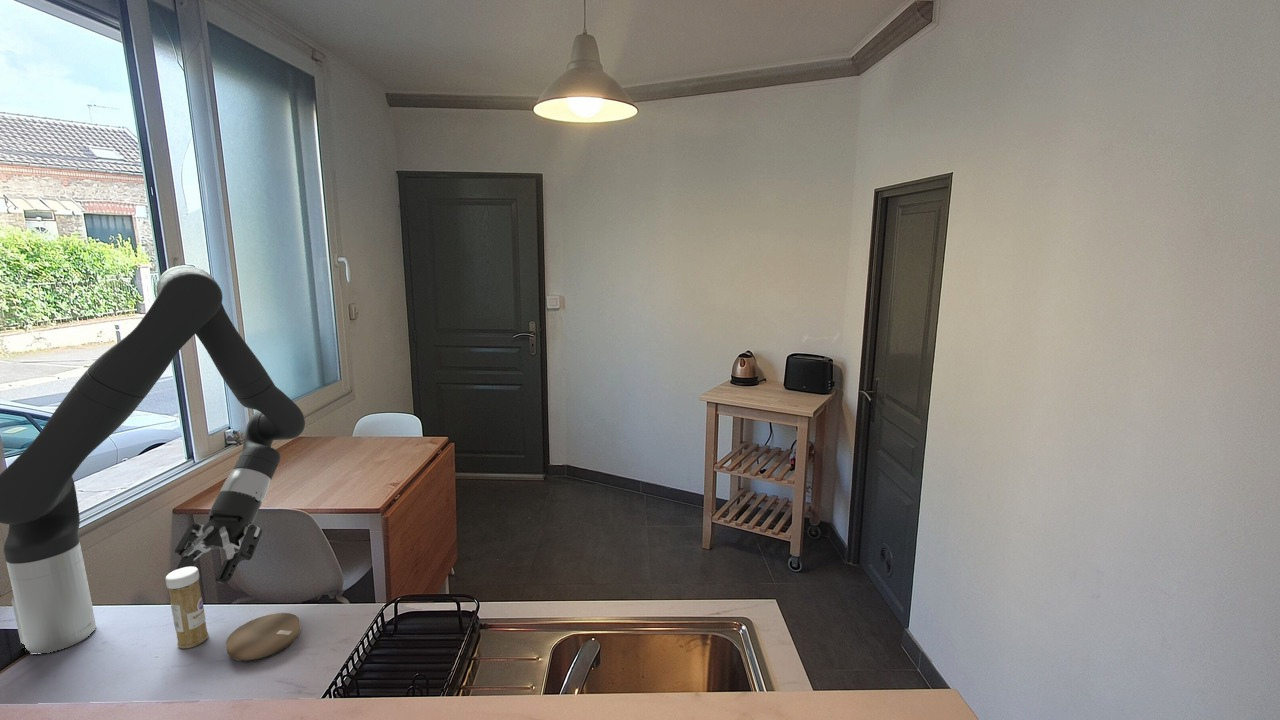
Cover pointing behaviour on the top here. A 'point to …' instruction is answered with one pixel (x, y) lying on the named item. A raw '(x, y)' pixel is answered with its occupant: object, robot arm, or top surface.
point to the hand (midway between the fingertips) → (199, 581)
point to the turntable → (263, 636)
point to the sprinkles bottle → (187, 606)
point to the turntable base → (266, 656)
